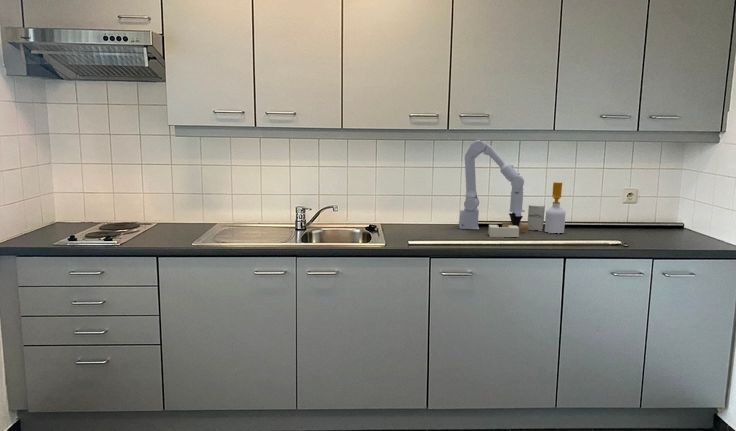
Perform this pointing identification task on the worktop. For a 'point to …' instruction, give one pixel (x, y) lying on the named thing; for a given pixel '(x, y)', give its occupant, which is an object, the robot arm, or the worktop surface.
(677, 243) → the worktop surface
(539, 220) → the supplement box
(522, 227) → the slat
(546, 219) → the soap bottle
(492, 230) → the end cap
